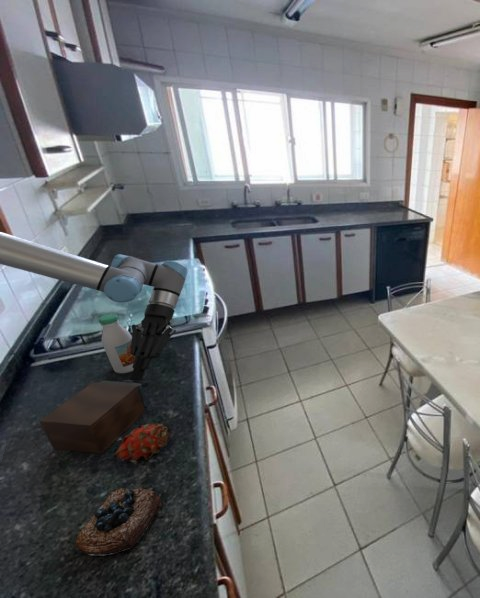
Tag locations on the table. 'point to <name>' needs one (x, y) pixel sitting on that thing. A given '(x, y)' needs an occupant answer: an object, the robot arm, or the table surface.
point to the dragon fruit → (143, 442)
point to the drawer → (134, 383)
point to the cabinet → (93, 417)
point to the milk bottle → (117, 344)
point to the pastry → (119, 521)
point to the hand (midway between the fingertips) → (135, 379)
